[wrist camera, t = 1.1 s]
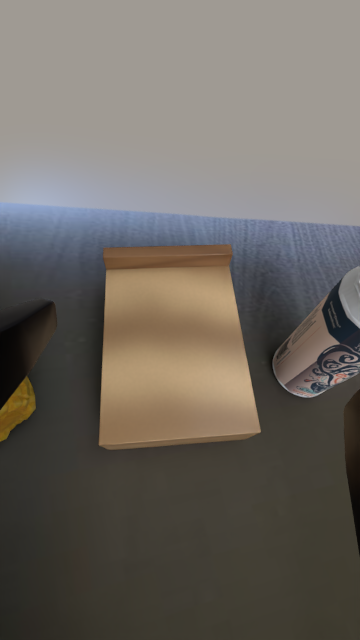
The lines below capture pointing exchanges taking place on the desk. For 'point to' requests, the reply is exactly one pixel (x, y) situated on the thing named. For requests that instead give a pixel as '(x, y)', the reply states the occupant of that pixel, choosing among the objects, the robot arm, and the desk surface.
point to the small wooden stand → (173, 350)
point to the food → (17, 408)
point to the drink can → (323, 343)
